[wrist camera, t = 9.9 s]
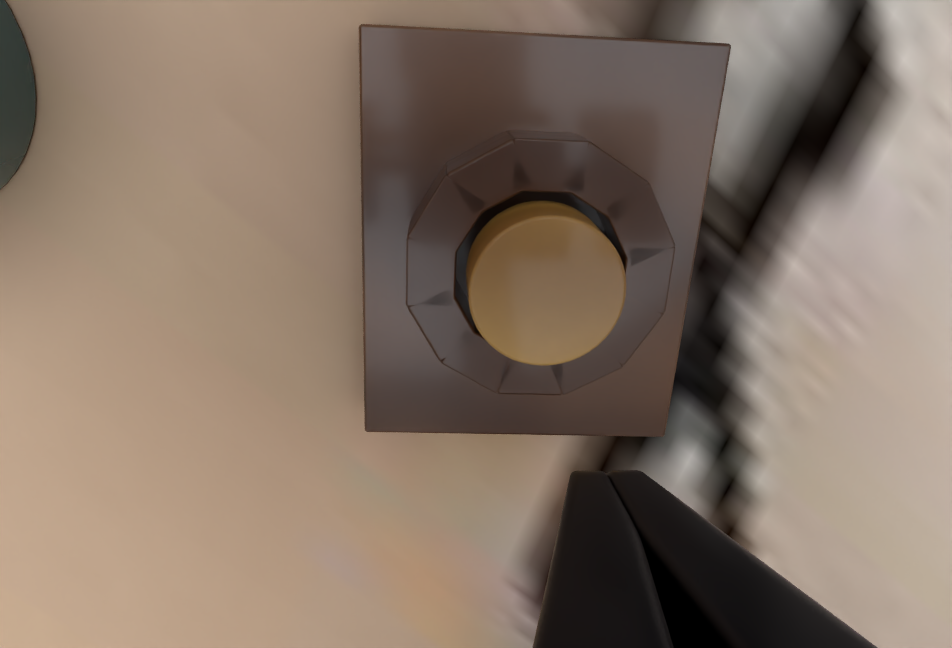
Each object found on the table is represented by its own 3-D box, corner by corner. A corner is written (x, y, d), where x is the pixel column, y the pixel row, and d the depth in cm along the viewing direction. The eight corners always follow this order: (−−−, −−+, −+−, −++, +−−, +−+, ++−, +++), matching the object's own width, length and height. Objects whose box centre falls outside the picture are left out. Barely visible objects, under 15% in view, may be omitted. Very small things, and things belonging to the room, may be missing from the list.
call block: (649, 410, 22) (685, 471, 19) (370, 405, 21) (357, 467, 18) (707, 44, 18) (765, 41, 15) (366, 26, 17) (348, 19, 14)
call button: (600, 340, 18) (616, 368, 16) (462, 336, 17) (464, 365, 16) (617, 202, 16) (637, 218, 15) (468, 197, 16) (471, 212, 14)
